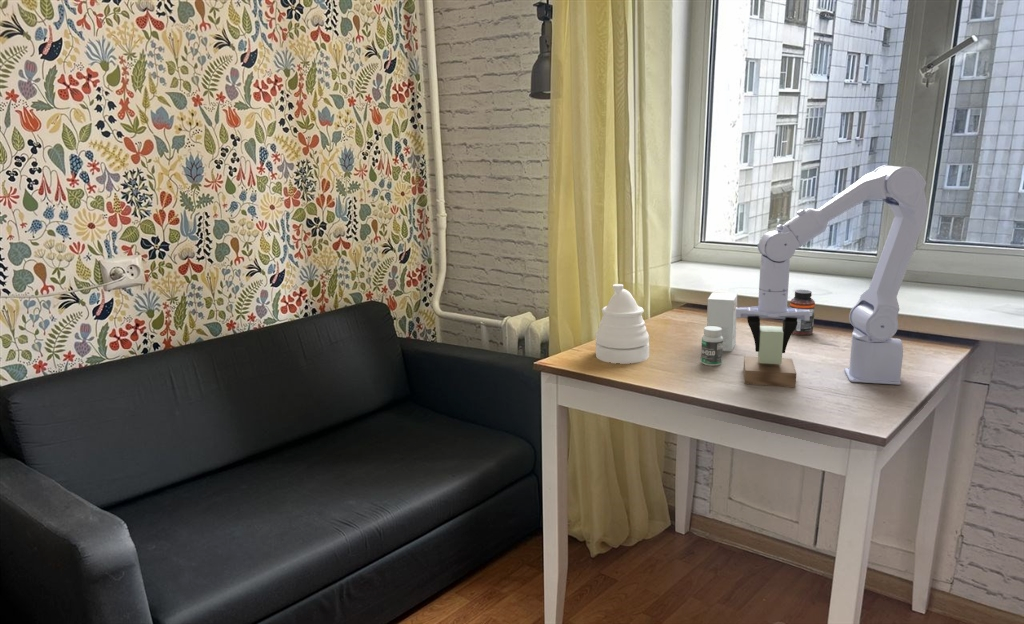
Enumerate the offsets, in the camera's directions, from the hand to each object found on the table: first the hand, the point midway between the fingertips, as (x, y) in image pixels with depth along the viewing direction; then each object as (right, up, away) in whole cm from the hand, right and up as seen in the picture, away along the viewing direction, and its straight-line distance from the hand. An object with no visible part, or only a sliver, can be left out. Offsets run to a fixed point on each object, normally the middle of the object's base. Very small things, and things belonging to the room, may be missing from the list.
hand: (769, 351), depth 144 cm
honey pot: (-28, -3, +21) cm, 35 cm away
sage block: (0, -2, 0) cm, 2 cm away
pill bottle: (-9, -4, +12) cm, 16 cm away
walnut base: (0, -6, +1) cm, 6 cm away
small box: (-3, 0, +25) cm, 25 cm away
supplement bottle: (+21, +3, +34) cm, 40 cm away
